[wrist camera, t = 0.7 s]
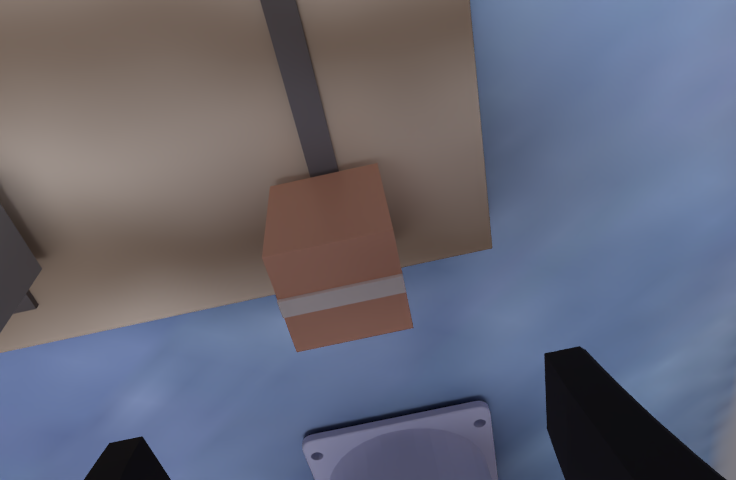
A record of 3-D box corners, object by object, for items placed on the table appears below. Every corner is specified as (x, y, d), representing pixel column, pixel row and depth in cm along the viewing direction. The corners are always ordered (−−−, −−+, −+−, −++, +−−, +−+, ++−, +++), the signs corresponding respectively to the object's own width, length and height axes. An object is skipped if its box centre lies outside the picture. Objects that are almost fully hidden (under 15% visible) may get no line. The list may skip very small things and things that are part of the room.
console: (480, 223, 19) (493, 251, 18) (-58, 338, 20) (-86, 375, 19) (406, -499, 11) (421, -555, 9) (-553, -253, 11) (-677, -270, 10)
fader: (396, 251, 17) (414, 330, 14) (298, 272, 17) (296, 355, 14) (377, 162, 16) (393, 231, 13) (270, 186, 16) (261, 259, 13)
